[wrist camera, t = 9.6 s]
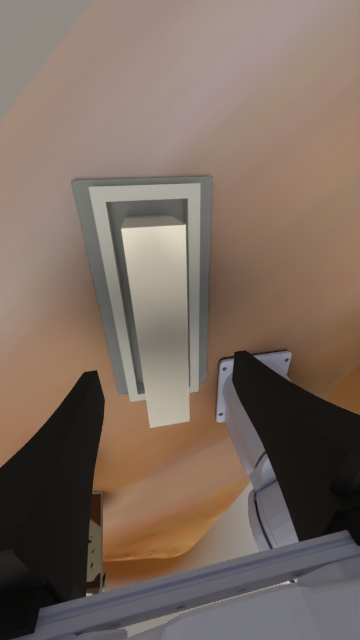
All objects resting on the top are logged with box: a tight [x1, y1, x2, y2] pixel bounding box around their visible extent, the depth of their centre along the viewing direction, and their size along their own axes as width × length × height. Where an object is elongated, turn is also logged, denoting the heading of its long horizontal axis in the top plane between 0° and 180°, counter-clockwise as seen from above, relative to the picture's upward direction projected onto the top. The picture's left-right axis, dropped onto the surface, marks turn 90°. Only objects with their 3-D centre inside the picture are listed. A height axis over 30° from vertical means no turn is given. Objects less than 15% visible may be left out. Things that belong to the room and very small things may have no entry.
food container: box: [86, 491, 108, 597], centre depth 28 cm, size 12×6×10 cm, turn 73°
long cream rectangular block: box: [121, 214, 190, 428], centre depth 17 cm, size 14×3×6 cm, turn 2°
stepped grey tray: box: [71, 176, 213, 402], centre depth 19 cm, size 18×9×2 cm, turn 2°
